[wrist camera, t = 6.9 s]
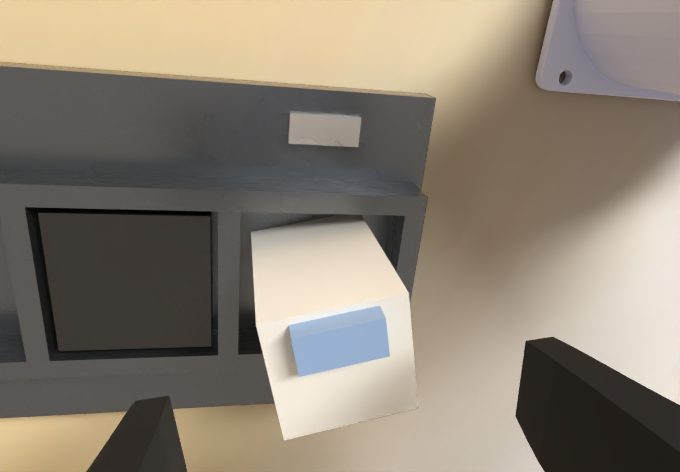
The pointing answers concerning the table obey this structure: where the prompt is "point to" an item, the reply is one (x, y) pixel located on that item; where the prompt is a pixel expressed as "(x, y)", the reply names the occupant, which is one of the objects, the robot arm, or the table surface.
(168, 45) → the table surface
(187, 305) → the grey compartment tray
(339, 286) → the cream white rectangular block
